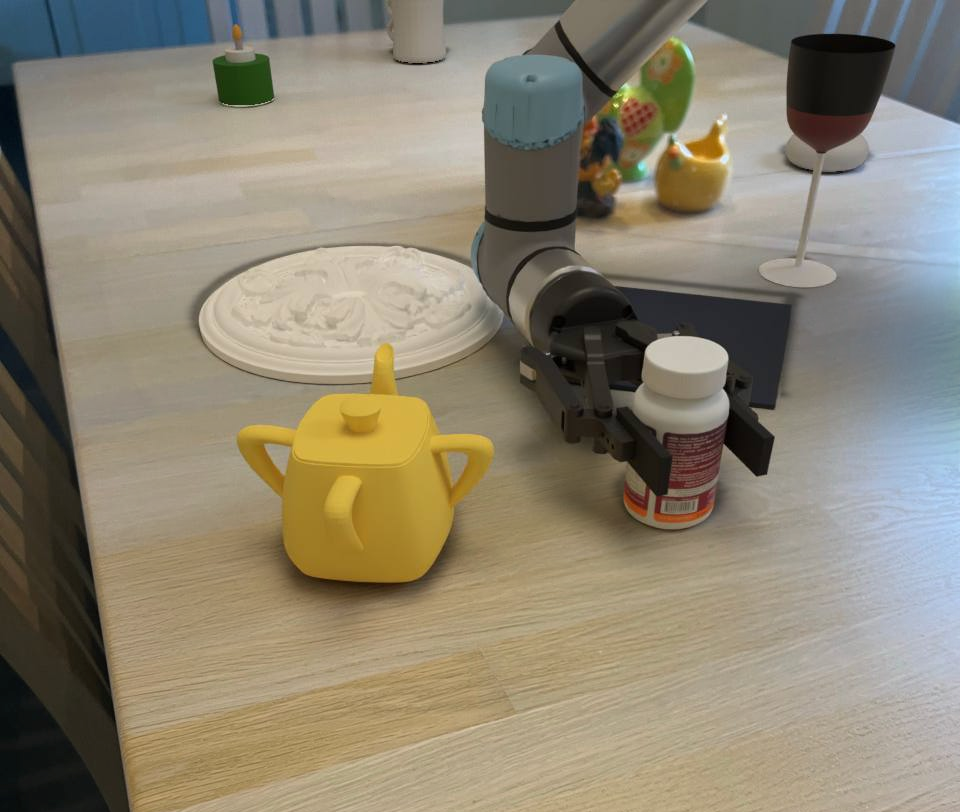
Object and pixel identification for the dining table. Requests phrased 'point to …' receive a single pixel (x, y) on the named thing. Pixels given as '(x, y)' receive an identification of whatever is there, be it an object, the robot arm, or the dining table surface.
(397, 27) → the mug
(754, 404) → the mat
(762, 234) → the dining table surface
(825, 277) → the wineglass
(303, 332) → the ceiling medallion
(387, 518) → the teapot
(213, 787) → the dining table surface
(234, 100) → the candle
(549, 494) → the dining table surface
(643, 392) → the pill bottle
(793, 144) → the donut
